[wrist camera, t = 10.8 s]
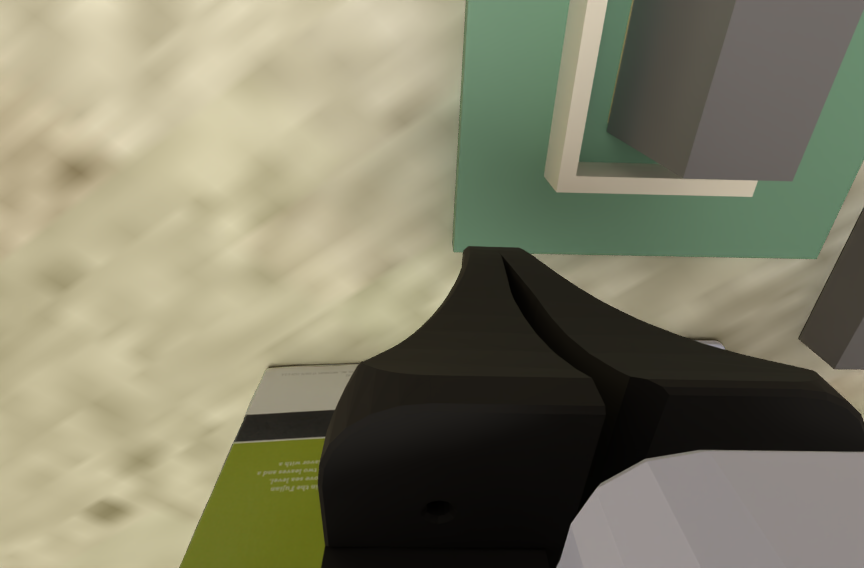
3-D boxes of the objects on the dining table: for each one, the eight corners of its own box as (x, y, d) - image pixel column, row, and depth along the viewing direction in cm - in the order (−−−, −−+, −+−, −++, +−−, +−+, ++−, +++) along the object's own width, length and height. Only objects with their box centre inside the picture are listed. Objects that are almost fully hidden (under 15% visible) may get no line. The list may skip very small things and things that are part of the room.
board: (800, 249, 22) (852, 281, 19) (452, 242, 21) (456, 274, 19) (1024, -246, 14) (1163, -307, 11) (481, -276, 13) (496, -347, 11)
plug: (684, 133, 18) (792, 181, 13) (606, 131, 18) (683, 178, 13) (736, -49, 15) (902, -84, 10) (644, -53, 15) (762, -90, 10)
